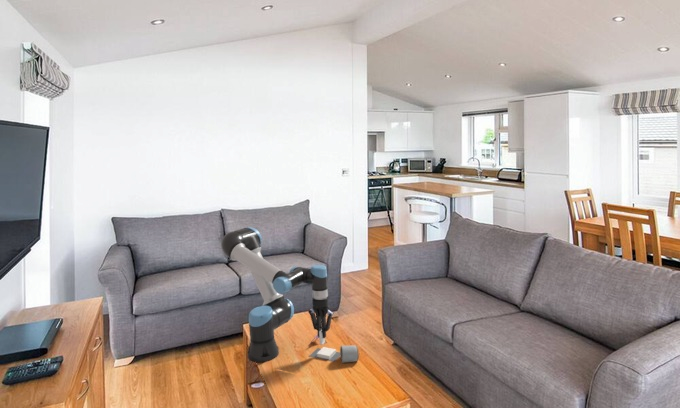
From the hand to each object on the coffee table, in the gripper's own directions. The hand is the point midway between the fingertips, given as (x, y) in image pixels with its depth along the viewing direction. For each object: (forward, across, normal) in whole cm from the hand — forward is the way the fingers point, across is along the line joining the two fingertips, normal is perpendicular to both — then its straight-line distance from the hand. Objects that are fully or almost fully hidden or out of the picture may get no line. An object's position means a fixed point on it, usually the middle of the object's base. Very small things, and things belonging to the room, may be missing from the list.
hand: (322, 343), depth 207 cm
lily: (+6, -8, +11) cm, 15 cm away
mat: (+6, +2, 0) cm, 6 cm away
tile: (+5, -2, 0) cm, 5 cm away
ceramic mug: (+6, +14, 0) cm, 15 cm away
